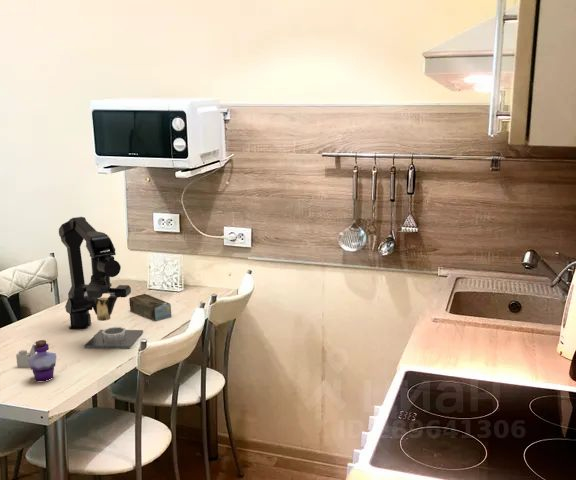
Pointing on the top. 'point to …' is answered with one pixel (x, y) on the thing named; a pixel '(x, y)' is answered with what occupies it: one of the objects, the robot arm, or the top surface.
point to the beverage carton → (150, 307)
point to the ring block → (114, 338)
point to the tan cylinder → (102, 309)
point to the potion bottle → (42, 361)
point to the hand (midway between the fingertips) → (103, 314)
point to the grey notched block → (24, 357)
